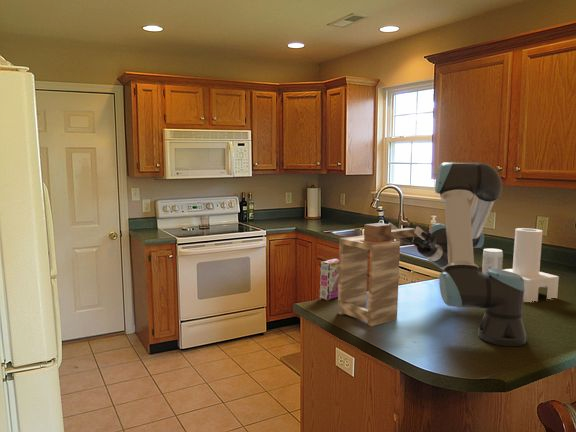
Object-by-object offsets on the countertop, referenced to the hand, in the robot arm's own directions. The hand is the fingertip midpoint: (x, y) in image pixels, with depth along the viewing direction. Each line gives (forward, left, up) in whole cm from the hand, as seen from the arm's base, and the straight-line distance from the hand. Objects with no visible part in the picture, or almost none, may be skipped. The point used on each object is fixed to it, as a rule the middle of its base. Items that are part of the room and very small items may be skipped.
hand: (401, 227), depth 187 cm
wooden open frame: (+4, +14, -34) cm, 37 cm away
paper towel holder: (-17, -67, -35) cm, 77 cm away
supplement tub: (+9, -85, -35) cm, 92 cm away
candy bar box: (+31, +8, -35) cm, 47 cm away
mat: (0, +14, -4) cm, 15 cm away
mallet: (0, +6, -4) cm, 7 cm away
